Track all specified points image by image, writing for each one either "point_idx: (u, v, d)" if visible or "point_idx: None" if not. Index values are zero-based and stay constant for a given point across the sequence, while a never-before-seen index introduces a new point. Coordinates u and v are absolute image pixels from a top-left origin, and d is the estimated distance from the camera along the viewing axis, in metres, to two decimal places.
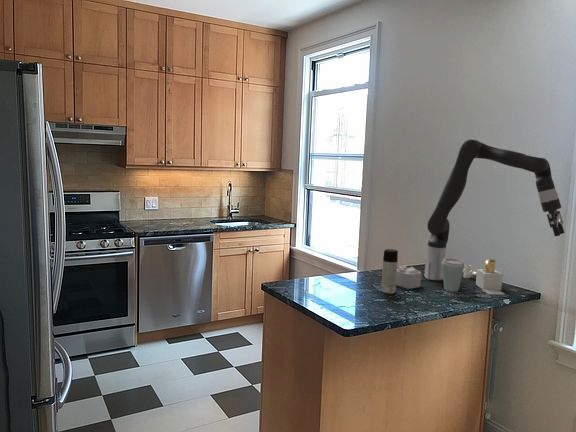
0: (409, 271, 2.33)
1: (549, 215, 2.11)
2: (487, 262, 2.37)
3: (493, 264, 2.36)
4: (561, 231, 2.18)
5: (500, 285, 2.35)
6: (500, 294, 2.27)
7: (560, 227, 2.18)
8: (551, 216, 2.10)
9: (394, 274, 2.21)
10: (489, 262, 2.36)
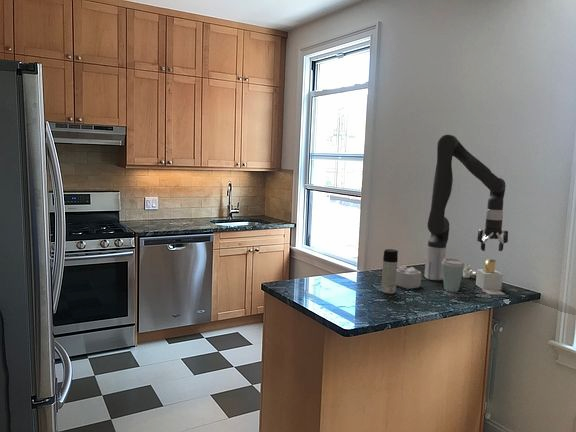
0: (409, 271, 2.33)
1: (479, 231, 2.36)
2: (487, 262, 2.37)
3: (493, 264, 2.36)
4: (499, 249, 2.37)
5: (500, 285, 2.35)
6: (500, 294, 2.27)
7: (500, 245, 2.37)
8: (479, 232, 2.35)
9: (394, 274, 2.21)
10: (489, 262, 2.36)
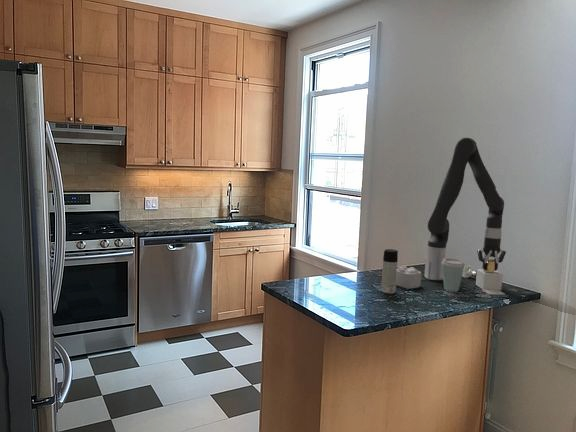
0: (409, 271, 2.33)
1: (478, 251, 2.37)
2: (487, 262, 2.37)
3: (493, 264, 2.36)
4: None
5: (500, 285, 2.35)
6: (500, 294, 2.27)
7: None
8: (478, 253, 2.37)
9: (394, 274, 2.21)
10: (489, 262, 2.36)
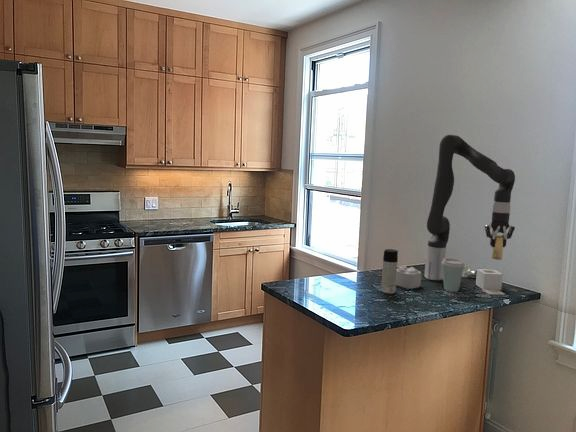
0: (409, 271, 2.33)
1: (485, 227, 2.26)
2: (495, 238, 2.26)
3: (501, 240, 2.25)
4: None
5: (500, 285, 2.35)
6: (500, 294, 2.27)
7: (503, 241, 2.27)
8: (486, 228, 2.26)
9: (394, 274, 2.21)
10: (497, 238, 2.25)
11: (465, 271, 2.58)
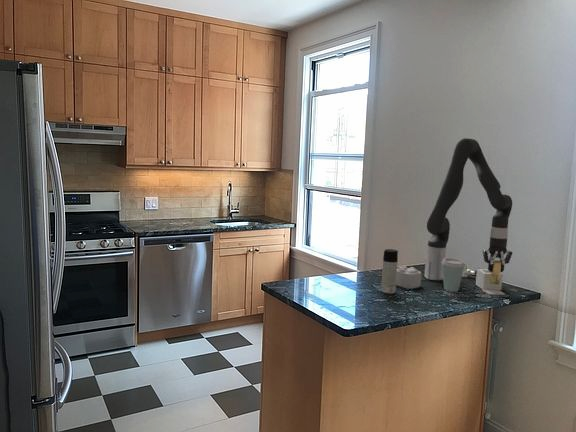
0: (409, 271, 2.33)
1: (483, 252, 2.28)
2: (493, 263, 2.27)
3: (499, 265, 2.26)
4: None
5: (500, 285, 2.35)
6: (500, 294, 2.27)
7: None
8: (484, 253, 2.27)
9: (394, 274, 2.21)
10: (495, 263, 2.26)
11: (464, 271, 2.58)
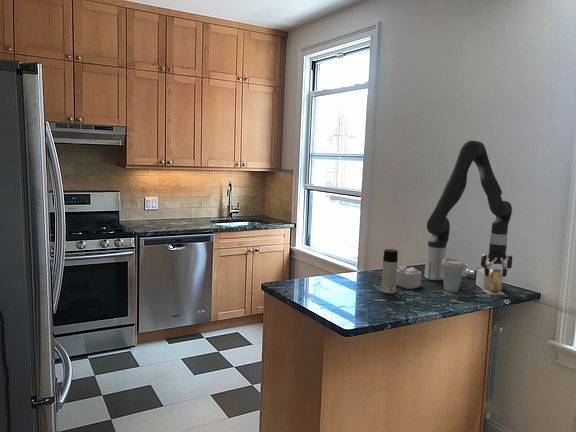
0: (409, 271, 2.33)
1: (482, 256, 2.28)
2: (492, 272, 2.28)
3: (498, 274, 2.27)
4: (503, 274, 2.29)
5: (500, 285, 2.35)
6: (500, 294, 2.27)
7: (503, 270, 2.29)
8: (483, 257, 2.27)
9: (394, 274, 2.21)
10: (494, 272, 2.27)
11: (464, 271, 2.59)
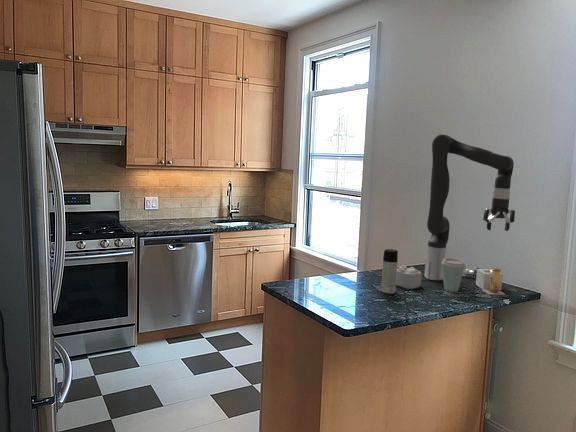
0: (409, 271, 2.33)
1: (485, 210, 2.33)
2: (492, 272, 2.28)
3: (498, 274, 2.27)
4: (506, 228, 2.34)
5: (500, 285, 2.35)
6: (500, 294, 2.27)
7: (506, 224, 2.33)
8: (485, 211, 2.32)
9: (394, 274, 2.21)
10: (494, 271, 2.27)
11: (463, 270, 2.59)
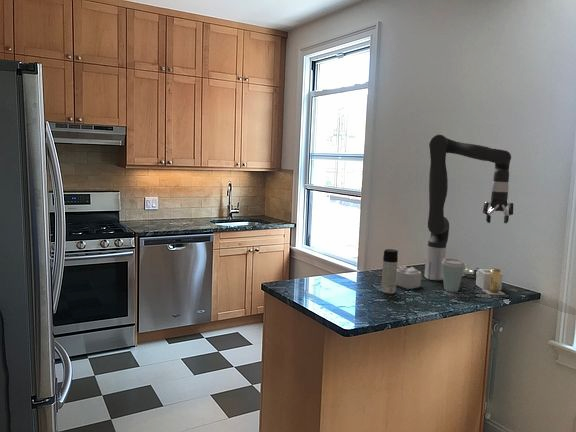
0: (409, 271, 2.33)
1: (485, 203, 2.39)
2: (492, 272, 2.28)
3: (498, 274, 2.27)
4: (505, 221, 2.40)
5: (500, 285, 2.35)
6: (500, 294, 2.27)
7: (505, 217, 2.39)
8: (485, 204, 2.38)
9: (394, 274, 2.21)
10: (494, 272, 2.27)
11: (463, 270, 2.60)
